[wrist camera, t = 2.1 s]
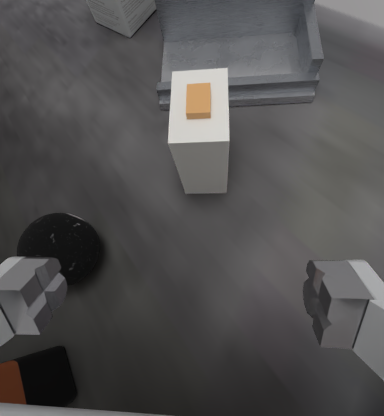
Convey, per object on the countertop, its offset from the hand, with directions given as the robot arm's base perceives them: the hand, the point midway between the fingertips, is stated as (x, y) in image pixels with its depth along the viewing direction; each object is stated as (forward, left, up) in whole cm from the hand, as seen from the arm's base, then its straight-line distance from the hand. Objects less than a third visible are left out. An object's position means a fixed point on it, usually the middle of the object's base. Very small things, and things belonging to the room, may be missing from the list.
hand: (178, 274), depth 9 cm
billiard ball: (-12, +3, -15) cm, 20 cm away
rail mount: (+3, +24, -15) cm, 28 cm away
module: (0, +12, -15) cm, 19 cm away
